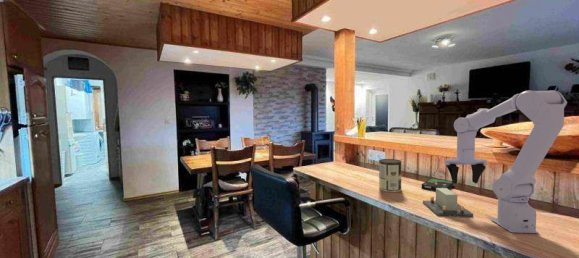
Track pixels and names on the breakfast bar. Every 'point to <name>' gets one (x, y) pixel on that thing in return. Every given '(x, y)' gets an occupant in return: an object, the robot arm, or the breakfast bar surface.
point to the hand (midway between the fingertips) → (464, 182)
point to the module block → (446, 199)
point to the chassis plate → (443, 212)
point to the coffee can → (390, 175)
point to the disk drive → (436, 184)
